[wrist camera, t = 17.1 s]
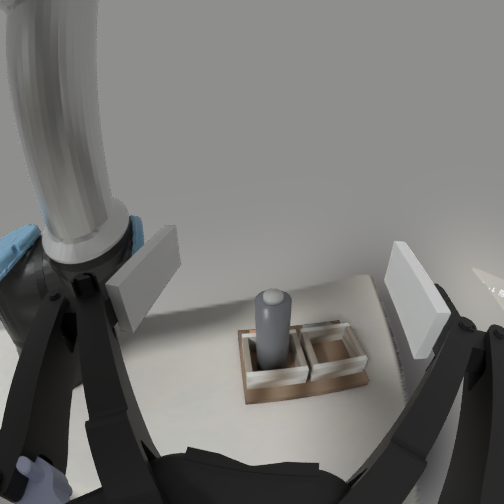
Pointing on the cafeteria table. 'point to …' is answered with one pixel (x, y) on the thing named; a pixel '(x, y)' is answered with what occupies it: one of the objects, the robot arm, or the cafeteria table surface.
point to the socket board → (305, 363)
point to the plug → (272, 329)
